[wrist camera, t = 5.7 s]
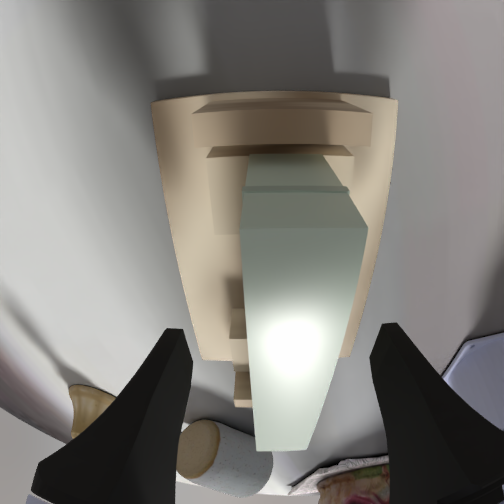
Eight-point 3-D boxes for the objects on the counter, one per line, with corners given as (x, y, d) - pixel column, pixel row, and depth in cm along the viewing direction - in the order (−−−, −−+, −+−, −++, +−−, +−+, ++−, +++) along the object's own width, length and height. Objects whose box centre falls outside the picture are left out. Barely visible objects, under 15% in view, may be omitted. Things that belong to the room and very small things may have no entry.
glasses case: (323, 152, 9) (371, 225, 5) (301, 370, 16) (307, 450, 12) (248, 152, 10) (236, 226, 5) (257, 371, 16) (255, 451, 12)
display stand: (390, 98, 11) (445, 116, 7) (347, 347, 20) (359, 402, 16) (156, 100, 11) (109, 118, 7) (203, 350, 20) (194, 406, 16)
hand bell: (87, 412, 30) (58, 518, 17) (57, 377, 25) (14, 501, 12) (145, 425, 30) (122, 542, 16) (121, 392, 25) (85, 537, 12)
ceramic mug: (218, 407, 25) (209, 482, 19) (275, 432, 28) (274, 495, 22) (159, 426, 30) (147, 483, 23) (212, 447, 33) (206, 499, 27)
